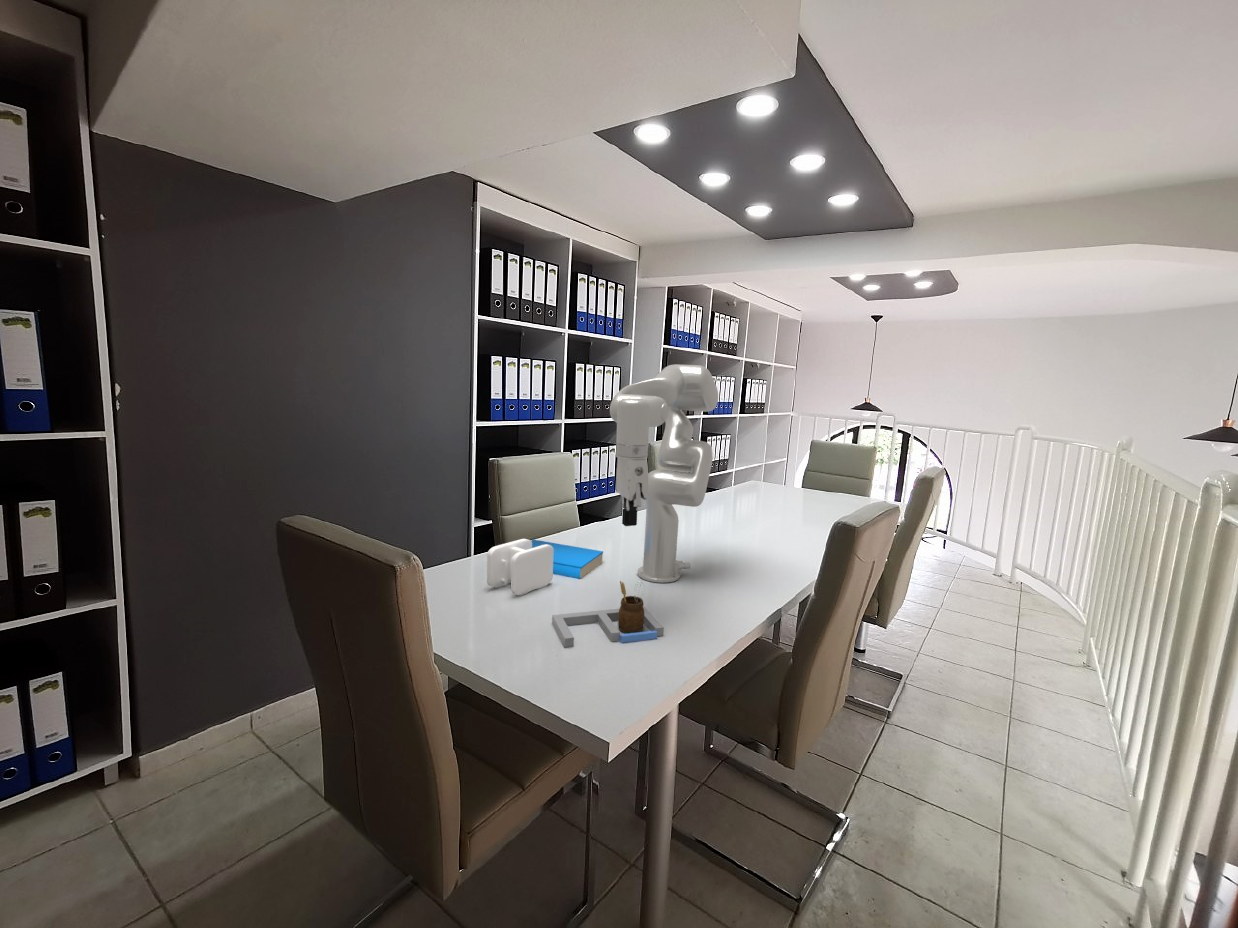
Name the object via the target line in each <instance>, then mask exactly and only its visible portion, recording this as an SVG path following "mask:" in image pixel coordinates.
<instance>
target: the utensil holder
mask: <svg viewBox="0 0 1238 928" xmlns="http://www.w3.org/2000/svg"><path fill="white" fill-rule="evenodd" d="M619 583H620V585H619V586H620V591H621V594H622V595H623V597H621V601H620V607H619V608H618V609H619V618H618V620H617V622H618V623H617V625H618V630H619V631H620V632H622V633H623V634H629V633H637V632H643V629H644V626H645V624H644V608H643V606H644V600H643V597H644V594H645V593H644V592H645V589H646V588H645V586H646V585H645V584H643V582H642V581H639V582H637V583H636V584H635V588H634V590H633V591H634V592H638V594H637V596H636V595H627V591H626V585H625V583H624V582H623V581H621V580H620V581H619ZM638 584H643V587H642V591H641V590H638V591H637V588H638V589H641V585H640V586H639V587H638ZM640 591H641V596H640V597H639V595H640ZM626 595H627V596H626Z"/></svg>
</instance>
